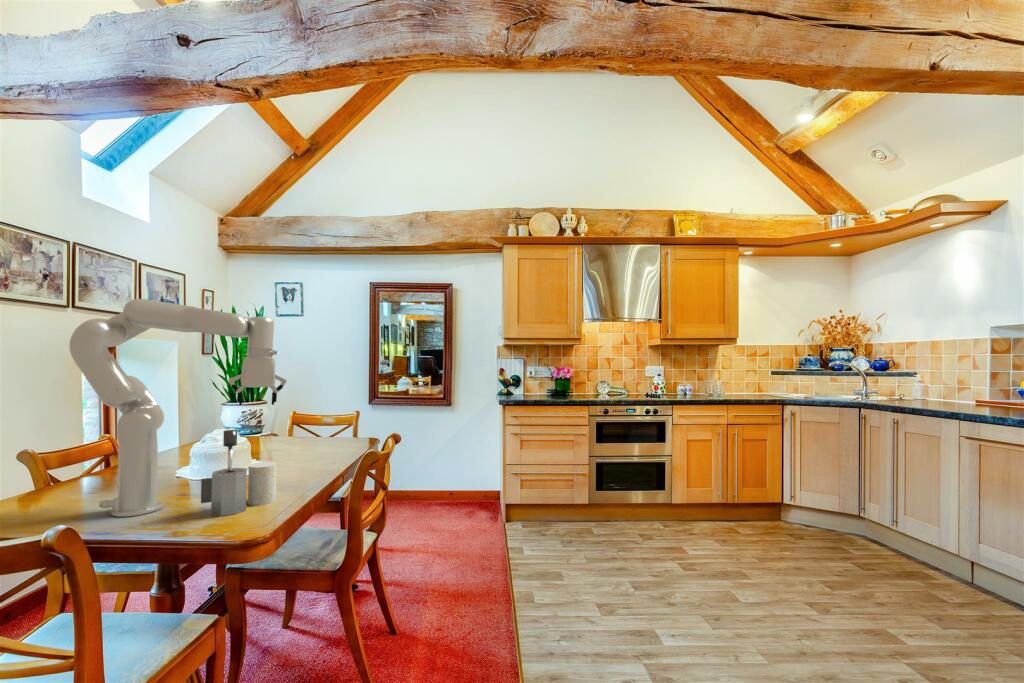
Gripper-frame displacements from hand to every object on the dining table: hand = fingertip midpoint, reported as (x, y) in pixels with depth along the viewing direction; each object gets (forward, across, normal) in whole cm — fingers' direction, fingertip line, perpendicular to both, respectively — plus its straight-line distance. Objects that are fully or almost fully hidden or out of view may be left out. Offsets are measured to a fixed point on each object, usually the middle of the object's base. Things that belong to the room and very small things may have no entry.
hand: (256, 404), depth 162 cm
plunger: (+24, +6, +12) cm, 27 cm away
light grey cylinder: (+31, -3, +6) cm, 32 cm away
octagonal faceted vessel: (+31, +7, +12) cm, 34 cm away
